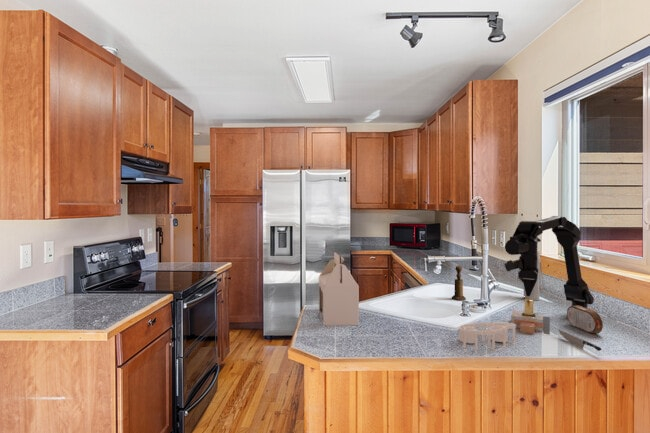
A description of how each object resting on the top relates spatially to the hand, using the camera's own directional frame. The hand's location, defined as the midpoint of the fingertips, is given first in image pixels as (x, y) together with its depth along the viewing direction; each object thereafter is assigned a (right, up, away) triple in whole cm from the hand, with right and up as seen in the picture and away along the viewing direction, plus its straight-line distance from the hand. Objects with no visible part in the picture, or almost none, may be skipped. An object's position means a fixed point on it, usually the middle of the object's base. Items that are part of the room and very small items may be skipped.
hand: (528, 293), depth 145 cm
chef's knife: (+5, -13, -20) cm, 25 cm away
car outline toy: (-25, -14, -21) cm, 35 cm away
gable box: (-74, -13, +6) cm, 75 cm away
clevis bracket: (-2, -13, -2) cm, 13 cm away
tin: (+19, -13, -3) cm, 24 cm away
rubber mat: (+3, -13, +5) cm, 14 cm away
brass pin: (0, -12, 0) cm, 12 cm away
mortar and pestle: (-12, -13, +41) cm, 45 cm away
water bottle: (+27, -13, +46) cm, 55 cm away
